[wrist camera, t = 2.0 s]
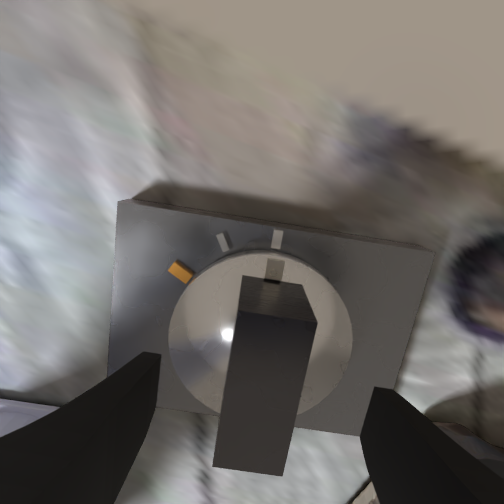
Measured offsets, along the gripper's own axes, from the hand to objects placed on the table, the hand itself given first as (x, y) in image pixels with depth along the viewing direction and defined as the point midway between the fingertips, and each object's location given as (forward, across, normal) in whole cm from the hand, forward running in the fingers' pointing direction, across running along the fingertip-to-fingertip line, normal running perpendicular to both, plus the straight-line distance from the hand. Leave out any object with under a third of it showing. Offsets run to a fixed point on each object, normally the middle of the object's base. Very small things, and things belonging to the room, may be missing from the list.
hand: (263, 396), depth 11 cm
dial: (+4, 0, 0) cm, 4 cm away
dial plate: (+6, 0, 0) cm, 6 cm away
